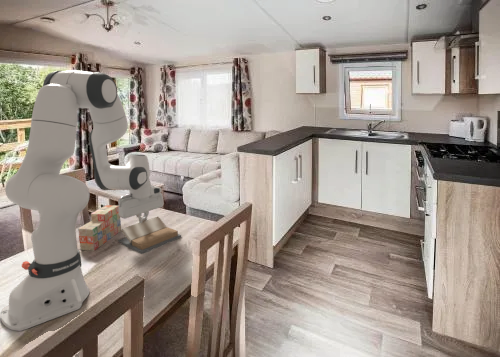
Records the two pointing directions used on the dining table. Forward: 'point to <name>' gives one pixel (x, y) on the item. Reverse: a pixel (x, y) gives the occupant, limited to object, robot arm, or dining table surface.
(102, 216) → the stack of blocks
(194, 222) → the dining table surface
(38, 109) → the robot arm
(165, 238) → the board
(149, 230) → the ash plank
